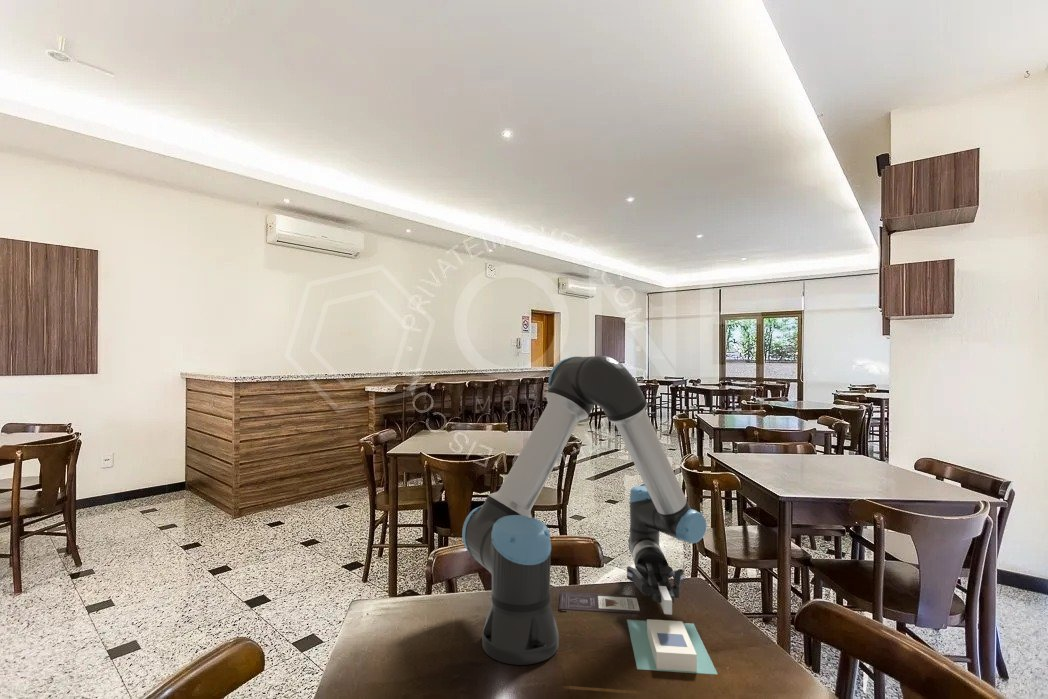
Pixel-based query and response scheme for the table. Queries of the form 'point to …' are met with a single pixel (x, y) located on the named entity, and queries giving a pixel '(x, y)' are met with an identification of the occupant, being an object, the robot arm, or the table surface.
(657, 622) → the card box
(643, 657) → the mat
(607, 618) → the table surface
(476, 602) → the table surface
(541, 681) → the table surface
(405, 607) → the table surface
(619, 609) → the chocolate bar
